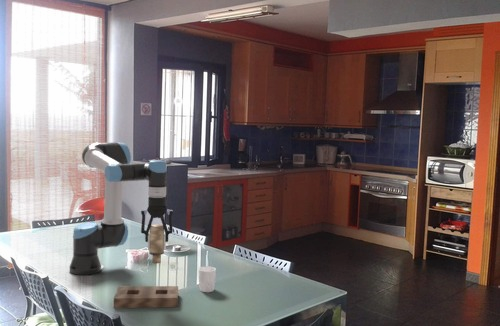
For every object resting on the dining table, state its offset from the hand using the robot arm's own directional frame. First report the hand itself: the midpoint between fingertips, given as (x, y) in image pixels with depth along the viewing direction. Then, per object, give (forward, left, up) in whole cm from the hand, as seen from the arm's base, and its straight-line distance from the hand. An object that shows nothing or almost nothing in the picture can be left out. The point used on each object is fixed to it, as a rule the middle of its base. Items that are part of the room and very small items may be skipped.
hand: (156, 249), depth 215 cm
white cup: (+23, +9, -22) cm, 33 cm away
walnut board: (-3, -4, -22) cm, 22 cm away
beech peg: (0, 0, -6) cm, 6 cm away
